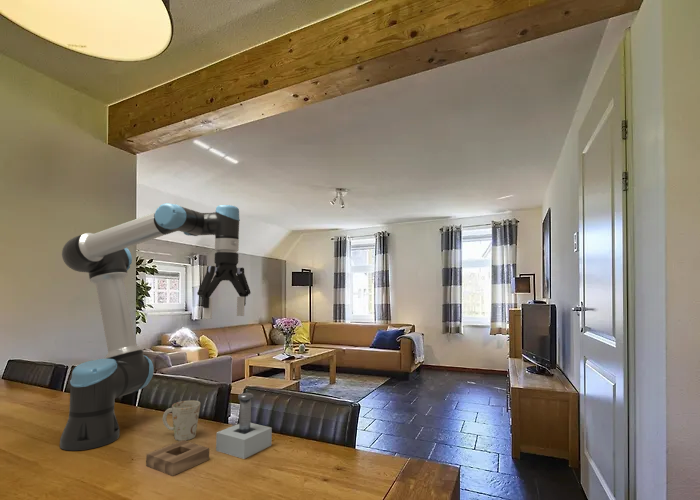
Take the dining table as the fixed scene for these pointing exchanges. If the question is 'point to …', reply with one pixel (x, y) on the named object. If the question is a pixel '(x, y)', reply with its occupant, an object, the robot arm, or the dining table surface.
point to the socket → (243, 440)
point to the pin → (245, 412)
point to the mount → (177, 457)
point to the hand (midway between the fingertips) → (224, 317)
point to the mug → (183, 419)
